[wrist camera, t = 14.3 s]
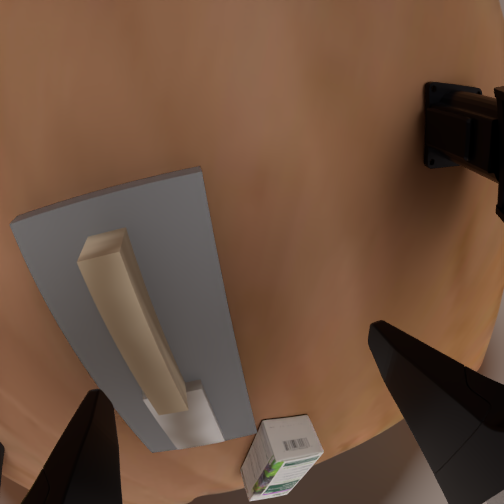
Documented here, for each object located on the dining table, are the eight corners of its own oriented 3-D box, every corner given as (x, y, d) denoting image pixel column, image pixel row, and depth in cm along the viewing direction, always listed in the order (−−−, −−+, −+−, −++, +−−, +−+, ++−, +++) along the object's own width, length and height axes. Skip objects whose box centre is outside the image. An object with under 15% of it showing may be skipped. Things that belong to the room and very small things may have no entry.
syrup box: (326, 452, 29) (288, 497, 35) (307, 411, 34) (276, 464, 40) (275, 462, 27) (248, 504, 33) (260, 417, 32) (239, 469, 38)
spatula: (147, 221, 17) (144, 245, 15) (223, 433, 30) (228, 455, 27) (68, 242, 17) (55, 267, 14) (176, 441, 29) (180, 464, 27)
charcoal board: (199, 166, 18) (201, 171, 17) (254, 424, 32) (257, 433, 31) (16, 216, 16) (9, 224, 15) (151, 443, 30) (152, 452, 29)
